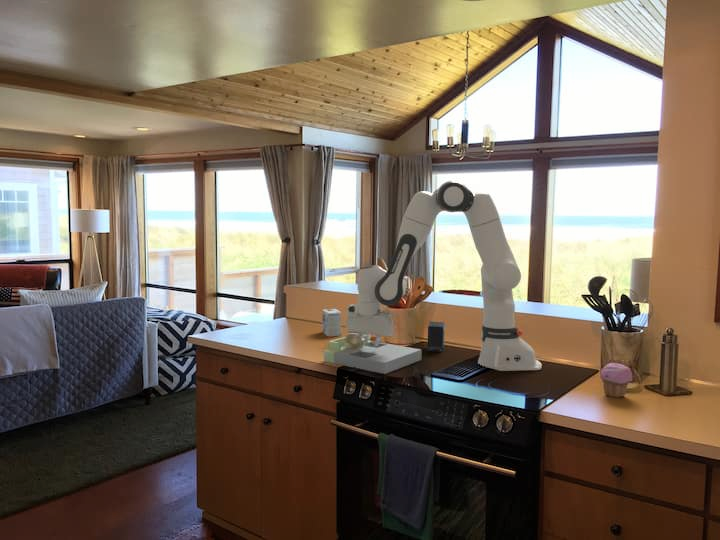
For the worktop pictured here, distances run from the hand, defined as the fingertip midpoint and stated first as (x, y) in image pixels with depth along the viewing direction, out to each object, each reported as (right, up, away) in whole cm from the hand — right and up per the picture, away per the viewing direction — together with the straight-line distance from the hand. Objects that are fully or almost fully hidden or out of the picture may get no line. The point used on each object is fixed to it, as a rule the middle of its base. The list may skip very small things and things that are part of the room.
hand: (369, 344), depth 215 cm
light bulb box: (-16, -1, +48) cm, 51 cm away
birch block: (-6, -2, +4) cm, 7 cm away
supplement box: (-4, -3, +36) cm, 36 cm away
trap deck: (+1, -6, 0) cm, 6 cm away
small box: (+28, -4, +19) cm, 34 cm away
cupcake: (+74, -10, -41) cm, 85 cm away
